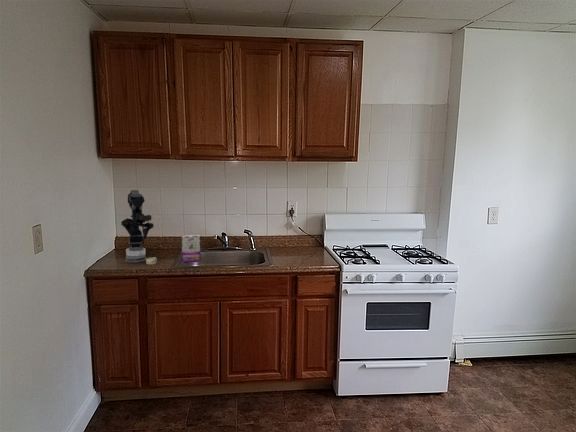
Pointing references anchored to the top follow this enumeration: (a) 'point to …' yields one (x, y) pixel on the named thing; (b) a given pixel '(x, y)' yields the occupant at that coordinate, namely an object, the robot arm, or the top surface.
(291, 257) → the top surface
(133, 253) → the canister
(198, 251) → the candy bar box
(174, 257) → the top surface
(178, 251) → the top surface
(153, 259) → the lid
